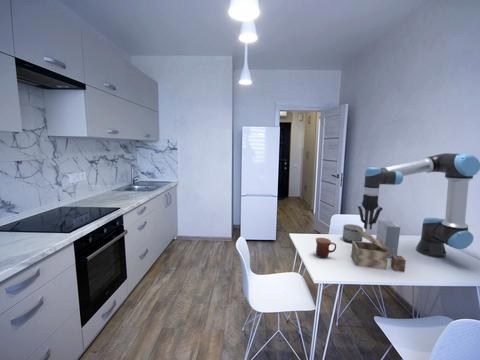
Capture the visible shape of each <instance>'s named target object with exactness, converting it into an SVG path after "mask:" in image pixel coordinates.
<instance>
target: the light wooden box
mask: <svg viewBox="0 0 480 360" xmlns="http://www.w3.org/2000/svg"><path fill="white" fill-rule="evenodd" d="M350 253H351V254H350V257H351V259H352V261H353V264H354V265H355V266H357V267H365V268H372V269H381V270H388V269H387V268H388V260H389V257H388V254H389V252H388V251H386V250H384V249H383V248H381V247H379V246H377V245H376V244H374V243H372V242H366V241H362V242H359V241H352V243H351V251H350Z"/></svg>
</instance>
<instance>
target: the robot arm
mask: <svg viewBox="0 0 480 360" xmlns="http://www.w3.org/2000/svg"><path fill="white" fill-rule="evenodd" d="M478 172H480V160H479V158H477V157H476V156H475V155H473V154H468V153H447V152H445V153H440V154H434V155H431V156H430V155H429V156H426V157H423V158H422V159H419V160H414V161H410V162H405V163H399V164H396V165H390V166H386V167H385V166H384V167H381V168H380V167H375V166H374V167H372V166H370V167H367V168H365V172H364V185H363V195H362V202H361V204H359V205H356V206H357V209H358V212H359V213H358V214H359V218H360V222H362V223H363V224H364V225H363V230H364V232H365V234H366V235H370V230H372V228H373V225H374V224H376V223H377V222H378V219H379V217H380V213H381V212H382V210H383V207H381V206H379V194H380V186H381V185H387V186H389V185H392V186H395V185H398V186H399V185H401V184H402V183H403V181H404V176H409V175H414V174H421V173H429V174H430V173H443V174H444V178H445V179H446V180H447V191H446V204H445V214H444V215H445V216H444V217H445V218H437V217H425V218H423V221H422V226H421V227H422V228H421V234H420V235H421V236H420V240H418V243H417V244H416V247H415V250H416V251H417V253H419V254H422V255H425V256H427V257H431V258H438V259H441V258H443V259H444V258H446V256H447V251H446V248H445V247H446V246H445V245H447V246H449V247H450V248H453V249H456V250H464V249H467V248H468V247H470V246H472V244H473V241H474V234H473V233H472V232H470V231H469V225H468V223H466V216H467V215H466V214H467V206H468V204H467V203H468V193H469V183H470V181H472V180H474V179H473V178H474V176H476V175H477V174H478ZM363 209H364V213H363ZM375 210H376V211H375ZM374 212H375V213H374Z"/></svg>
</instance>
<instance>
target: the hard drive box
mask: <svg viewBox="0 0 480 360" xmlns="http://www.w3.org/2000/svg"><path fill="white" fill-rule="evenodd" d="M376 227H377V229H376V236H375V238H376V239H378V240H379V241H381V242H382V243H383V244H384V245H385V246H386V247H387V248H388V249H389V254H388V258H391V259H392V255H397V256H398V250H399V242H400V235H401V226H400V225H398V224H396V223H395V222H393V221H392V220H390V219H381V218H380V219H379V218H378V219H377V226H376Z"/></svg>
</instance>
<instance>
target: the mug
mask: <svg viewBox="0 0 480 360" xmlns="http://www.w3.org/2000/svg"><path fill="white" fill-rule="evenodd" d="M315 242H316V248H315V254H316V256H317V257H318V258H321V259H327V258H328V257H329V254H330V253H334V252H335V251H337V250H336V249H337V244H336V243H334V242H332V241H331V240H330V239H329V238H327V237H316V238H315ZM331 245H332V246H333V245H334V248H333V249H332V250H330V246H331Z"/></svg>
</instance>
